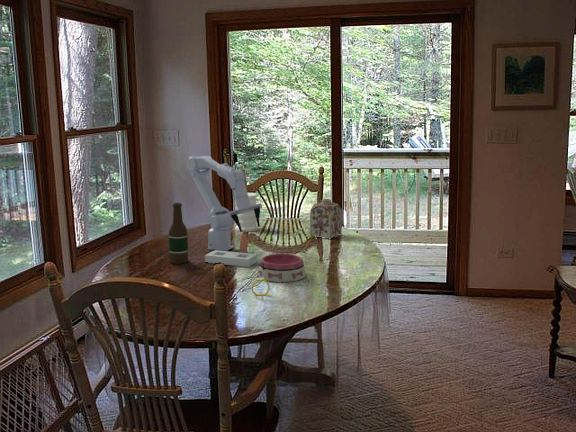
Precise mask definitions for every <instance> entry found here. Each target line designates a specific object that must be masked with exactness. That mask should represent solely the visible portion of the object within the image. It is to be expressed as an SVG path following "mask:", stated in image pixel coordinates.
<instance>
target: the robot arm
mask: <svg viewBox="0 0 576 432" xmlns="http://www.w3.org/2000/svg"><path fill="white" fill-rule="evenodd" d="M186 167H187V168H186V169H188V171H189V173H190V175H191V177H192V180H193V182H194V183H195V186H196V187H197V189H198V192H199V194H200V195H201V196H202V198H203V200H204V202H205V204H206V205H207V208H208V209H209V211H210V212H209V213H208V215H207V218H208V221H209V225H210V227H211V228H210V229H209V230H208V232H207V241H208V242H207V246H208V247H207V250H212V251H214V250H218V251H229V250H231V249H234V248H235V246H234V245H231V229H232V228H233V227H232V226H233V225H234V224H236V226H238V227H239V230H240V231H239V232H242V229H241V226H240V222H239V218H238V214H242V213H245V212H249V211H252V210H254V212H255V216H256V220H257V222H256V226H258V228H260V227H261V226H260V214H261V209H263V205H262V202H261V203H256V205H251V204H250V201H249V197H248V193H249V192H248V191H247V190H248V189H247V187H246V183H245V182H246V178H247V177H246V176H247V175H246V172H245V171H244V170H243V169H236V168H235V167H233V166H229V163H227V162H225V163H219V162H217V161H216V160H214V159H213V158H212V156H210V155H203V156H202V155H201V156H189V157H188V158H187V166H186ZM211 170H212V171H214V172H216V174H217V175H218V176H219V177H221V178H222V179H224V180H225V181H226V182H227V184H228V185H229V186H230V189H231V190H232V192H233V193H232V194H233V196H234V200H235V204H236V209H235V210H229V209H228V208H226V207H224V206H222V205H221V203H220V201H219V199H218V197H217V196H216V195H217V194H216V193H215V192H214V190H213V188H212V186H211V184H210V182H209V181H208V179H207V177H208V176H210V175H209V174H210V172H211ZM237 208H238V209H237ZM249 209H250V210H249ZM245 210H248V211H245ZM241 211H244V212H241Z"/></svg>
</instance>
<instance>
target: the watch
mask: <svg viewBox="0 0 576 432" xmlns="http://www.w3.org/2000/svg"><path fill="white" fill-rule="evenodd" d="M257 282H260V283H261V282H264V283H266V285H267V290H266V291H265V292H264V293H257V292H255V290H254V285H255V284H256V283H257ZM269 283H270V282H267V281H266V280H265V279H264V278H262V277H260V278H258V277H256V278H255V280H254V281H253V282H252V284H251V291H252V294H253V295H254V296H257V297H259V296H261V297H264V296H266V295H267V294H268V293H269V291H270V284H269Z"/></svg>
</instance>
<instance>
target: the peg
mask: <svg viewBox="0 0 576 432" xmlns="http://www.w3.org/2000/svg"><path fill="white" fill-rule="evenodd" d="M247 239H248V235H247V234H239V253H248V241H247Z"/></svg>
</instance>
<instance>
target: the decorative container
mask: <svg viewBox="0 0 576 432" xmlns="http://www.w3.org/2000/svg"><path fill="white" fill-rule="evenodd" d="M247 193H248V197H249V201H250V204H251V205H256V204H258V203H257V198H258V194H257V193H256V192H247ZM237 209H238V208H237V207H236V210H237ZM249 210H250V209H249ZM245 211H248V210H245ZM241 212H244V211H241ZM238 218H239V222H240V226H241V229H242V232H243V233H244V232H248V233H249V232H255V231H258V230H259V227H258V225H257V220H256V216H255V212H254V210H252V211H249V212H245V213H242V214H238ZM234 228H235V229H234V231H238V232H240V230H239V227H238V226H237V225H236V226H235V227H234Z"/></svg>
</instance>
